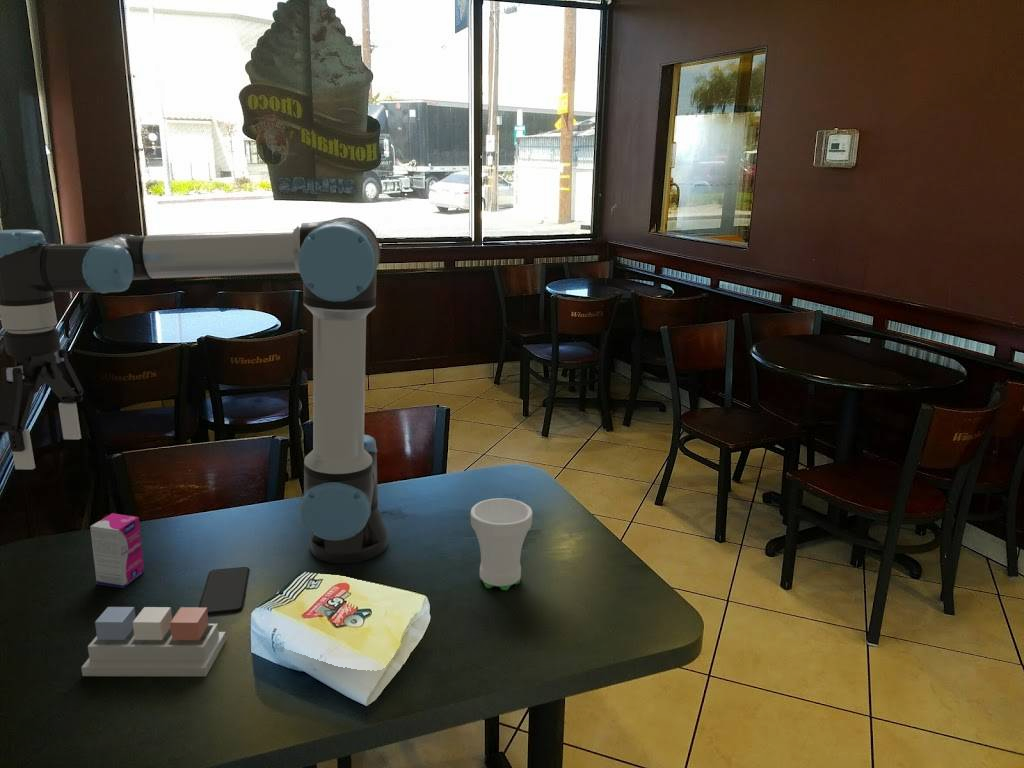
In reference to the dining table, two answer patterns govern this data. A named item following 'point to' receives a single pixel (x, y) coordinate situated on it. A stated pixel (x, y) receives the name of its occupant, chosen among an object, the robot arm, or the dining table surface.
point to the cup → (501, 539)
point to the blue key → (115, 623)
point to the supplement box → (117, 550)
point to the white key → (152, 623)
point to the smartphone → (225, 590)
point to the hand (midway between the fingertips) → (50, 453)
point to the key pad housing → (154, 655)
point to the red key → (189, 623)
